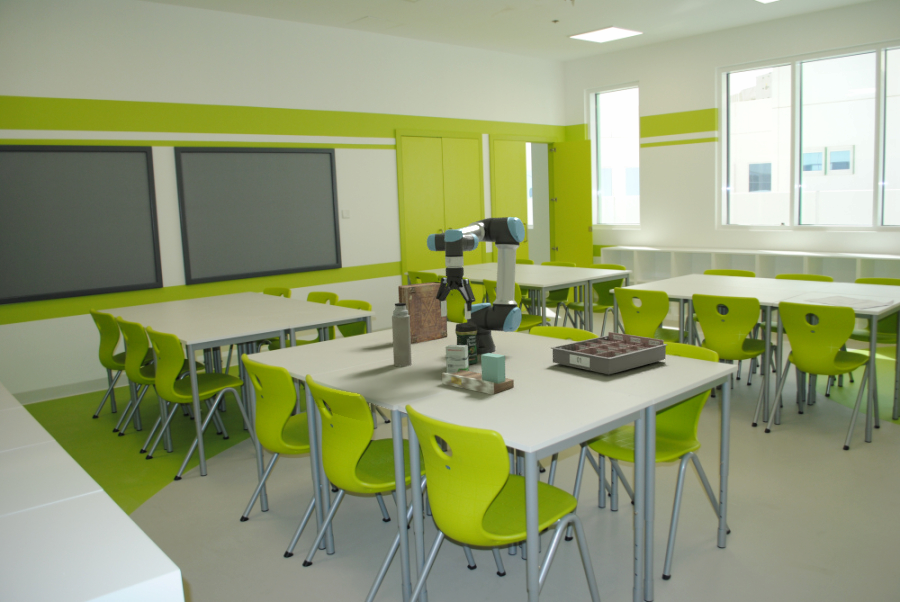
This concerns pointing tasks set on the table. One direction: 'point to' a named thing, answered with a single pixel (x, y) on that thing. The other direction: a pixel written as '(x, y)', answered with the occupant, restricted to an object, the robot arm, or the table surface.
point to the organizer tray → (610, 353)
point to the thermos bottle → (401, 335)
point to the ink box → (456, 358)
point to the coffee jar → (468, 339)
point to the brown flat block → (475, 382)
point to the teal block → (493, 367)
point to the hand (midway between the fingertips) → (455, 317)
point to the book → (423, 311)
